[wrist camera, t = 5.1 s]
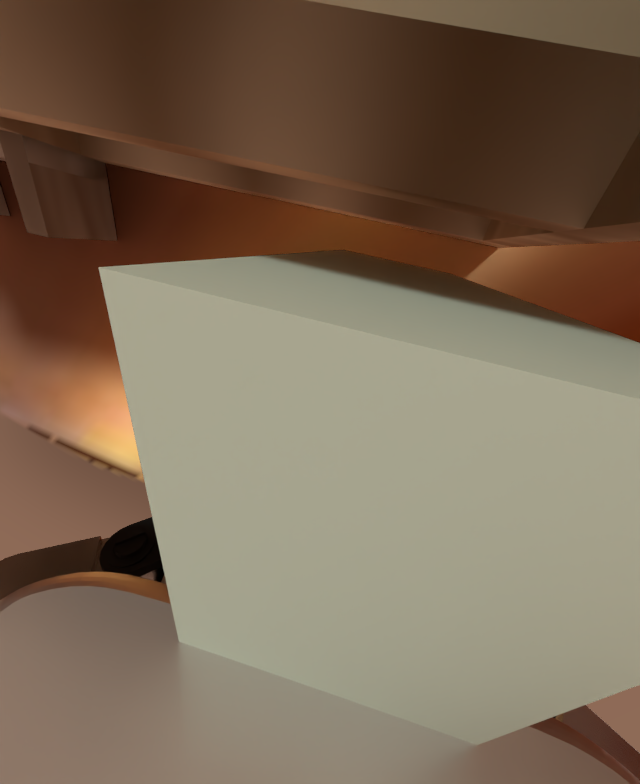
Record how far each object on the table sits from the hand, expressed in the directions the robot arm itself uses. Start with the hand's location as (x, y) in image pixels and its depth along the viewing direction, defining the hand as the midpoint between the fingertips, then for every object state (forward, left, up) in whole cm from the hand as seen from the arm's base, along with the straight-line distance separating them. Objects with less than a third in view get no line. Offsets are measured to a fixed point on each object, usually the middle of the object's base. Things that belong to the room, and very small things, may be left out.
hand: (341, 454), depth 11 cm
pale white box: (0, -2, -2) cm, 3 cm away
